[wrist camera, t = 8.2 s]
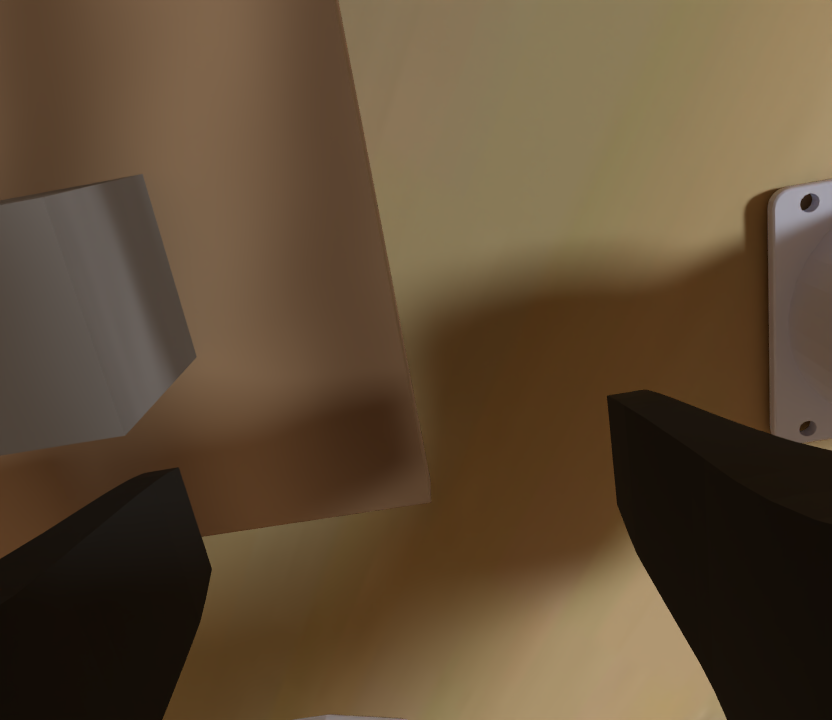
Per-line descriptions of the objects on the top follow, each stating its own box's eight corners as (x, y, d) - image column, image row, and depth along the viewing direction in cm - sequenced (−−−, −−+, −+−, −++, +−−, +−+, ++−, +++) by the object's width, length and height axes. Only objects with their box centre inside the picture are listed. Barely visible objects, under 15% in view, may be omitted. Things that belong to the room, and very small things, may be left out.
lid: (316, -112, 14) (259, -229, 9) (430, 481, 18) (433, 615, 13) (-305, 20, 14) (-658, -23, 10) (-56, 555, 19) (-218, 705, 14)
